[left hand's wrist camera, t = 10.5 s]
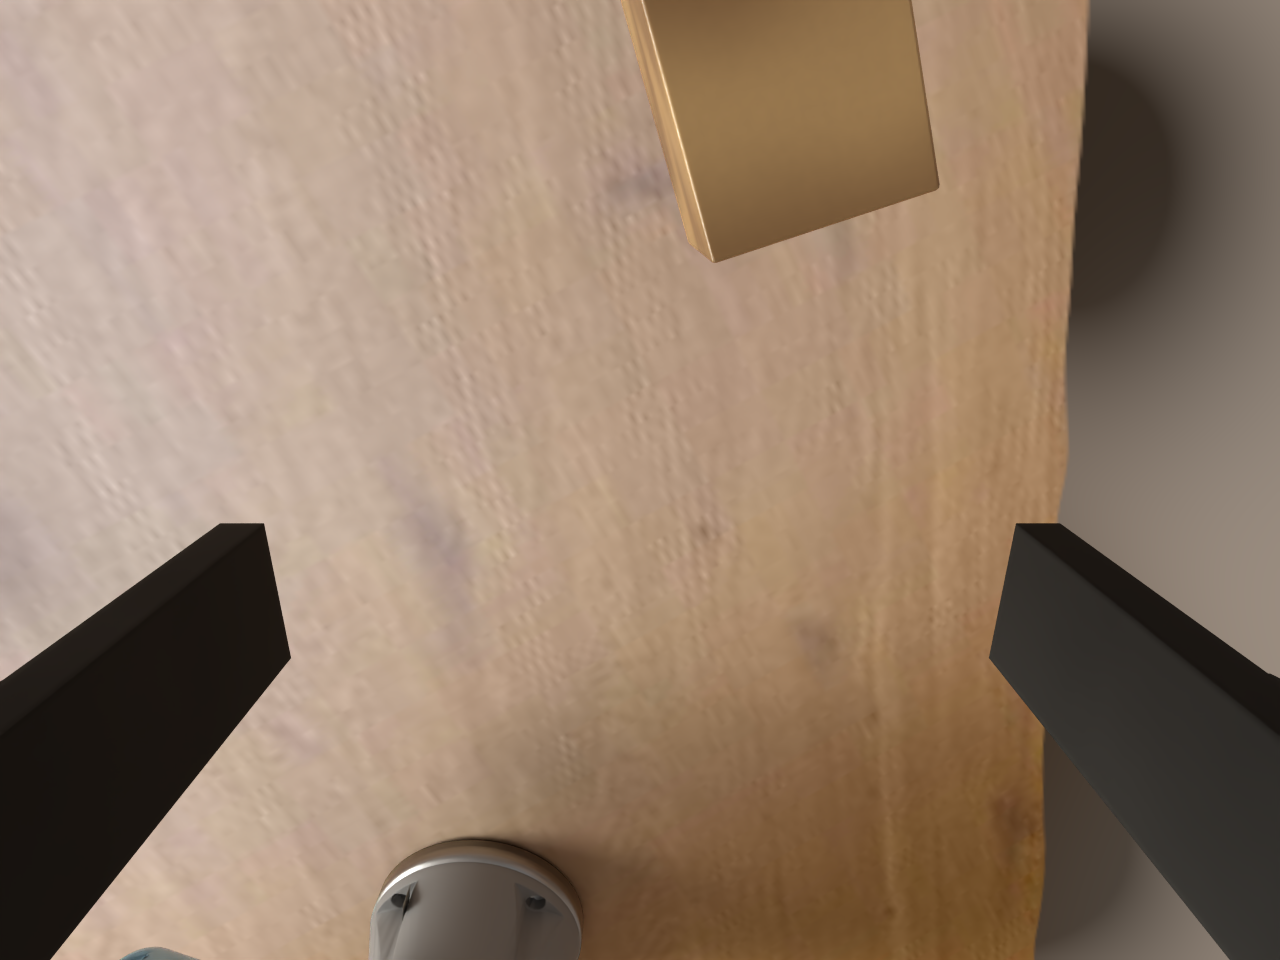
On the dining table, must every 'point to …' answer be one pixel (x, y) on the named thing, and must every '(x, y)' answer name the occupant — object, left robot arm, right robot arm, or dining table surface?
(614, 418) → the dining table surface
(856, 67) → the bar
